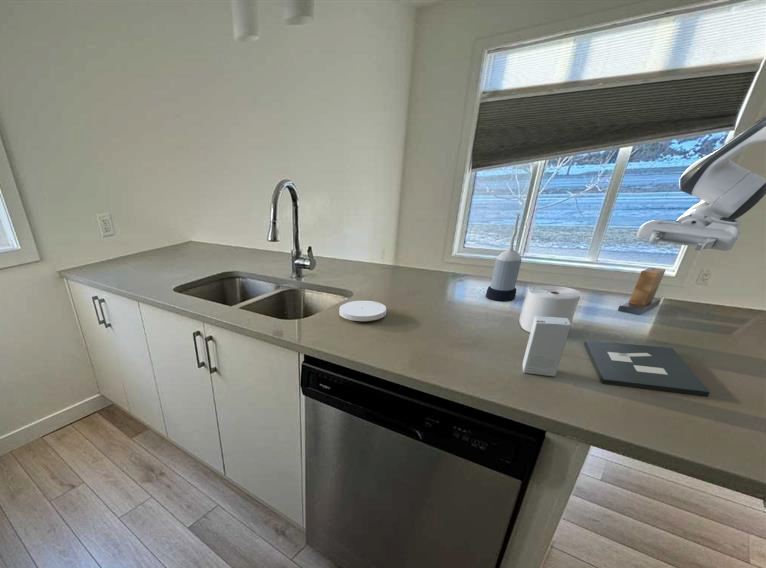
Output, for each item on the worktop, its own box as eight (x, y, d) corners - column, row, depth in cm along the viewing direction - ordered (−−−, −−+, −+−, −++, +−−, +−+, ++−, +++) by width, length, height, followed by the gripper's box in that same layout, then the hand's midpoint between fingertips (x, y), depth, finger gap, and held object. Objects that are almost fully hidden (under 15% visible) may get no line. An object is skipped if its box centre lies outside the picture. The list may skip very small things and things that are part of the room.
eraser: (658, 304, 114) (674, 267, 109) (639, 315, 109) (655, 276, 104) (636, 300, 118) (651, 264, 113) (617, 310, 113) (632, 273, 108)
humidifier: (491, 291, 134) (508, 211, 122) (518, 296, 129) (540, 212, 116) (481, 298, 130) (498, 215, 117) (509, 303, 124) (530, 216, 112)
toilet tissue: (564, 340, 100) (577, 301, 95) (510, 330, 108) (519, 293, 103) (572, 325, 107) (584, 289, 102) (520, 317, 114) (529, 282, 109)
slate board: (670, 351, 91) (672, 347, 91) (707, 396, 76) (710, 391, 75) (583, 343, 98) (585, 339, 97) (601, 383, 83) (603, 379, 82)
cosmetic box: (552, 368, 89) (569, 317, 83) (555, 378, 86) (573, 325, 80) (520, 364, 92) (534, 314, 86) (521, 373, 88) (536, 322, 82)
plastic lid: (384, 325, 117) (385, 317, 116) (336, 323, 122) (336, 315, 120) (386, 308, 129) (387, 301, 127) (342, 307, 133) (342, 300, 132)
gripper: (651, 211, 120) (633, 226, 114) (750, 221, 106) (735, 239, 101) (642, 232, 124) (624, 248, 118) (736, 245, 110) (720, 263, 105)
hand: (676, 244), depth 109 cm, fingers open, 8 cm apart
